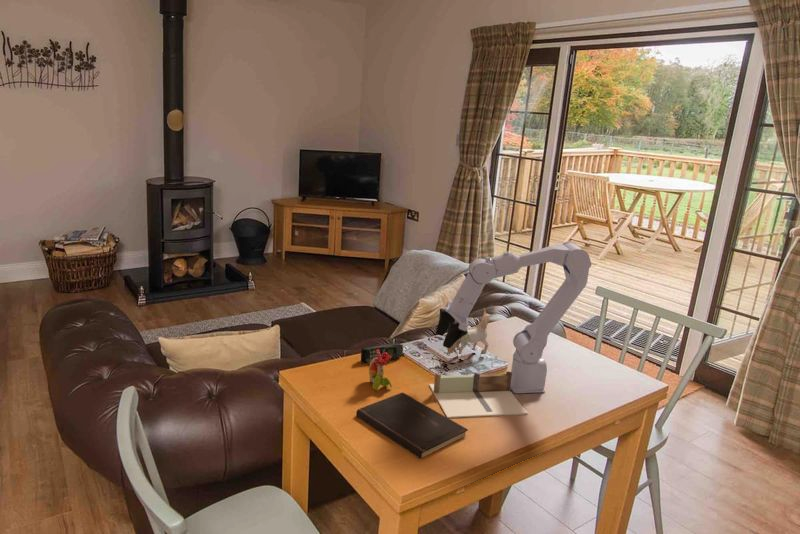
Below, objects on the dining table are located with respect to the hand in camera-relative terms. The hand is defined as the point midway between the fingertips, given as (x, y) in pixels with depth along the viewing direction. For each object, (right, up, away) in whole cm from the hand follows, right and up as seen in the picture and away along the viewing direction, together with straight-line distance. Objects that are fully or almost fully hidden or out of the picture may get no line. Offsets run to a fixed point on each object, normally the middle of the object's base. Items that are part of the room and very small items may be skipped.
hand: (442, 340), depth 163 cm
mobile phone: (-17, -8, +16) cm, 25 cm away
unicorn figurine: (+9, -8, +25) cm, 28 cm away
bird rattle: (-19, -13, -1) cm, 22 cm away
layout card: (+9, -15, -5) cm, 18 cm away
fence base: (+14, -14, 0) cm, 20 cm away
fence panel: (+3, -14, -2) cm, 14 cm away
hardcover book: (-9, -19, -20) cm, 29 cm away
